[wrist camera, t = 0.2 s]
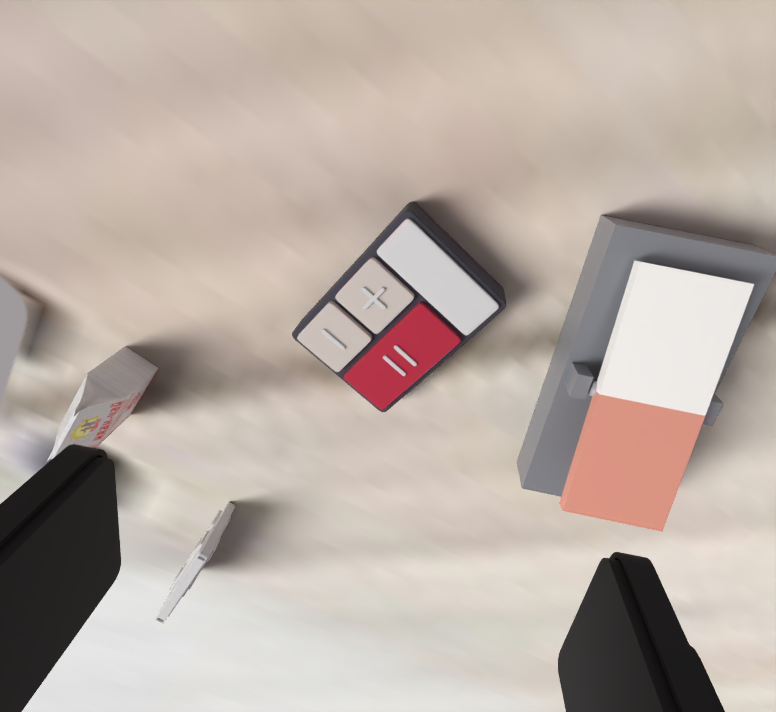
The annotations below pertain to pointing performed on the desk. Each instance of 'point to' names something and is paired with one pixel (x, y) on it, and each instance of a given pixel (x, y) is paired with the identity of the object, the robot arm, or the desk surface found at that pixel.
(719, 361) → the breaker rocker
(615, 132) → the desk surface
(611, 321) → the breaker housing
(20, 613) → the robot arm
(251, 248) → the desk surface
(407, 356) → the calculator
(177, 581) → the cassette
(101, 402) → the white cardboard box
